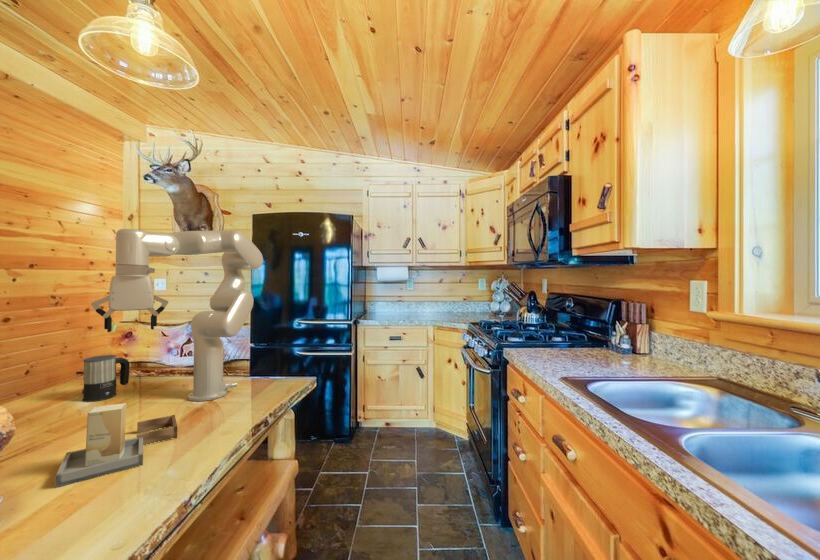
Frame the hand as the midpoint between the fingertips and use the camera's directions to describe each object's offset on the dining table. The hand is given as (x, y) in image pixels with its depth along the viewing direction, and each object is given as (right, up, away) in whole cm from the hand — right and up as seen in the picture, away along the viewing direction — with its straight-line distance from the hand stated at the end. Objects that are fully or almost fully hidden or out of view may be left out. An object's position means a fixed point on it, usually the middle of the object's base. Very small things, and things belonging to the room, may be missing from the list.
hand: (131, 330), depth 98 cm
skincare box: (+11, -28, -20) cm, 35 cm away
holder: (+11, -28, -5) cm, 31 cm away
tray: (+10, -28, -20) cm, 36 cm away
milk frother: (-35, -29, +27) cm, 53 cm away
